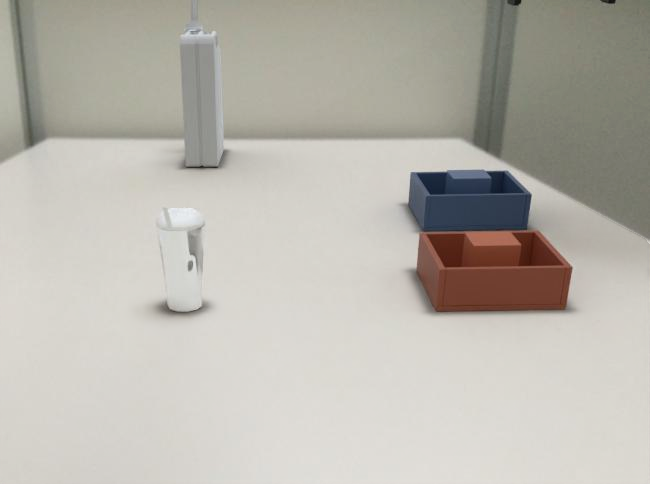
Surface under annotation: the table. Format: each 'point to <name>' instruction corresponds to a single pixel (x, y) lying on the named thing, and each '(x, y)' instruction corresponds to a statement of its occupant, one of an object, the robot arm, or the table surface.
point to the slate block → (467, 182)
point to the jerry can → (201, 94)
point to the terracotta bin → (493, 275)
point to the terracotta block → (490, 249)
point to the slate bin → (469, 204)
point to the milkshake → (182, 256)
